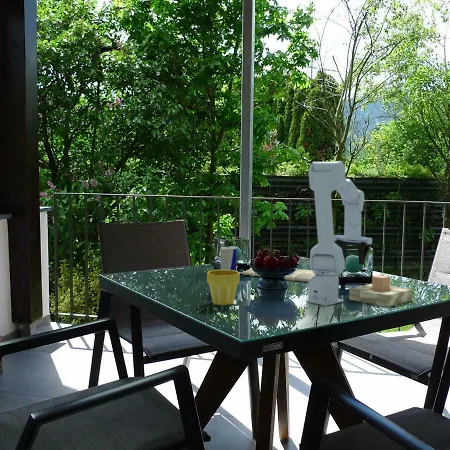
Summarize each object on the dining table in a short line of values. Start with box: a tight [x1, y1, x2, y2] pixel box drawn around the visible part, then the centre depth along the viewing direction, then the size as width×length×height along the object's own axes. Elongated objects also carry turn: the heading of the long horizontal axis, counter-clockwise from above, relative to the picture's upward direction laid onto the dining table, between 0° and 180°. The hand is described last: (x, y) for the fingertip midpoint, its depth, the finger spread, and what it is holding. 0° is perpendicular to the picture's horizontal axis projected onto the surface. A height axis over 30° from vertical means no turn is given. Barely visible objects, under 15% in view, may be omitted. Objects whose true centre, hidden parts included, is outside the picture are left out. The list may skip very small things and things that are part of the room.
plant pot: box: [206, 269, 241, 306], centre depth 175 cm, size 10×10×10 cm
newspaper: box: [240, 268, 315, 283], centre depth 227 cm, size 37×19×3 cm, turn 57°
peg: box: [371, 274, 391, 292], centre depth 179 cm, size 4×4×7 cm
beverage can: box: [220, 246, 238, 271], centre depth 196 cm, size 6×6×15 cm
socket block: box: [348, 283, 413, 308], centre depth 179 cm, size 14×14×4 cm
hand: (352, 262), depth 195 cm, fingers open, 7 cm apart
